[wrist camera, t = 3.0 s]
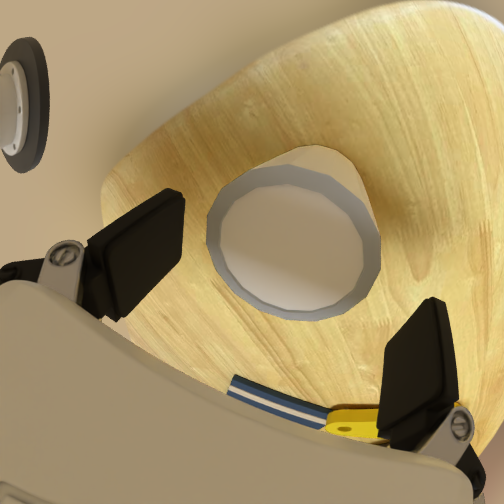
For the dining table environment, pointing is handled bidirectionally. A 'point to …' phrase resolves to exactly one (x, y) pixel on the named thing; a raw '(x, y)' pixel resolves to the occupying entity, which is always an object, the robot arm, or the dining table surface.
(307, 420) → the towel
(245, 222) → the white cup
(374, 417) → the crank
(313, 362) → the dining table surface
